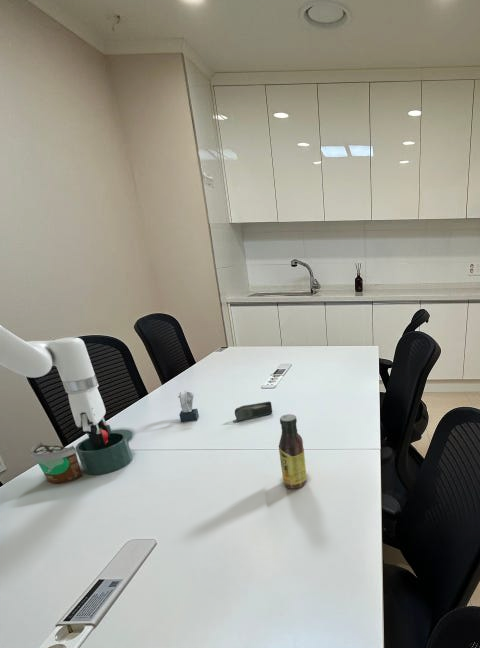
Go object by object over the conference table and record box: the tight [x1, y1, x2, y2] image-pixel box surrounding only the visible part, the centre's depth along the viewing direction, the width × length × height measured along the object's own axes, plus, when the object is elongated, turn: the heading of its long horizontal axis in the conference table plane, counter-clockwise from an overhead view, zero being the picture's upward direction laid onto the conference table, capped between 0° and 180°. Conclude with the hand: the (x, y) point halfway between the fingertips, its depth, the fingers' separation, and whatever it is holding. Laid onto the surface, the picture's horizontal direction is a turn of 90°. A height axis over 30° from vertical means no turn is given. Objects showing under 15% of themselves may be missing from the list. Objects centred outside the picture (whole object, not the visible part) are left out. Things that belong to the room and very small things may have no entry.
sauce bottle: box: [278, 413, 307, 489], centre depth 100 cm, size 7×6×20 cm
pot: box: [74, 432, 133, 476], centre depth 115 cm, size 12×12×8 cm
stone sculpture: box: [177, 390, 200, 423], centre depth 143 cm, size 6×8×11 cm
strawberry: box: [99, 428, 108, 444], centre depth 112 cm, size 4×4×4 cm
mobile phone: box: [232, 401, 273, 423], centre depth 144 cm, size 5×3×15 cm
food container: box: [30, 441, 83, 485], centre depth 106 cm, size 12×6×10 cm, turn 76°
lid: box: [106, 424, 133, 442], centre depth 129 cm, size 13×13×6 cm
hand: (101, 442), depth 113 cm, fingers closed on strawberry, 4 cm apart
